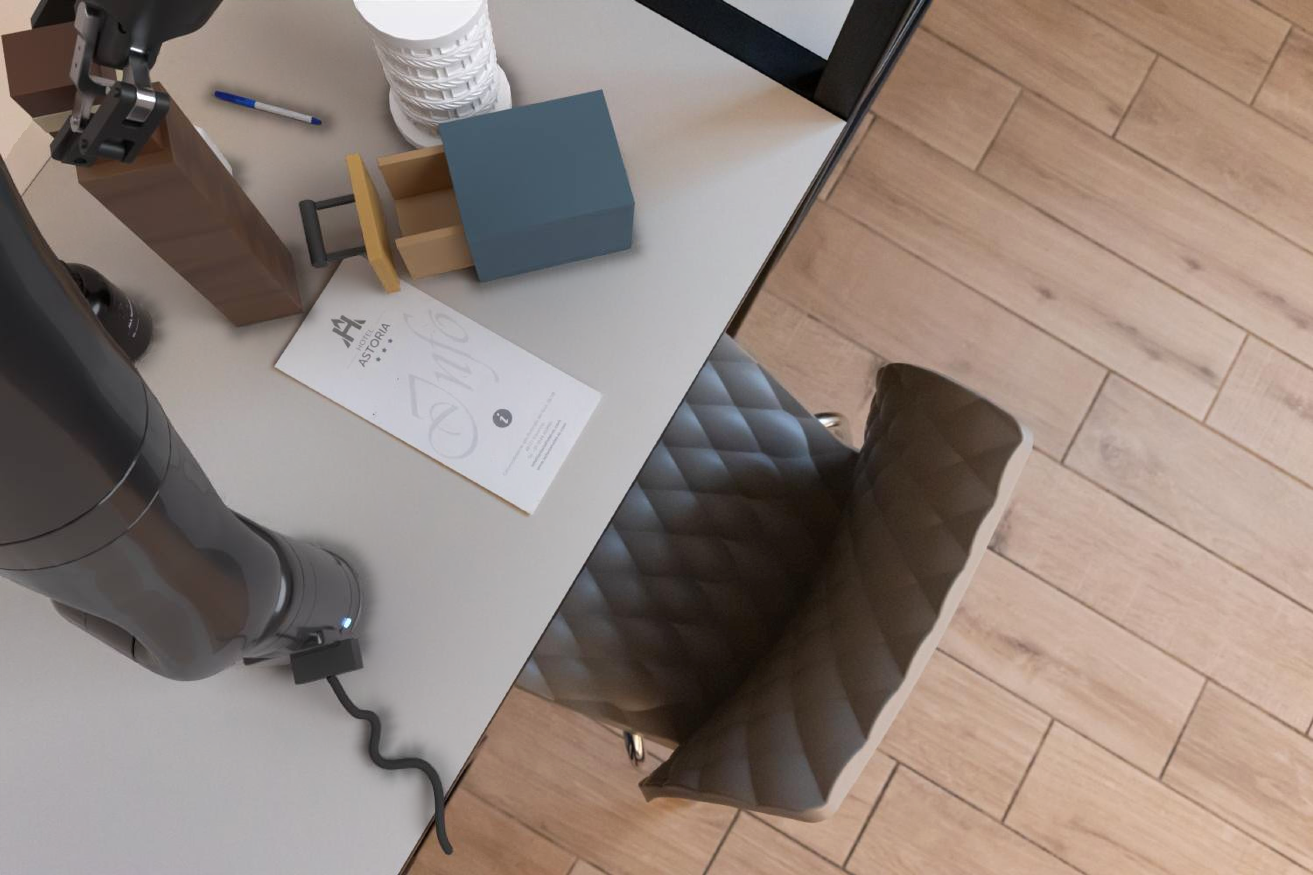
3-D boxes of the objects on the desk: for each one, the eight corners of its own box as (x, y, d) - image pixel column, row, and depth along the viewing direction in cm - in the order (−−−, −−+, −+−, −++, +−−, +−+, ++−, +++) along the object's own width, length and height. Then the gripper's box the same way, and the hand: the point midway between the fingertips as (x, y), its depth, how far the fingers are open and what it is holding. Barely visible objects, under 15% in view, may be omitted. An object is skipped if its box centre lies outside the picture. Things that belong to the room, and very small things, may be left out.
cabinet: (480, 283, 91) (466, 240, 82) (454, 177, 94) (437, 123, 84) (631, 248, 93) (634, 202, 84) (602, 144, 95) (602, 89, 86)
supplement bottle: (171, 333, 89) (106, 284, 77) (111, 386, 87) (36, 344, 76) (120, 283, 90) (48, 227, 78) (60, 335, 88) (-22, 285, 77)
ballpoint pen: (214, 100, 94) (210, 95, 93) (217, 92, 94) (213, 87, 93) (320, 127, 94) (317, 121, 93) (323, 119, 94) (320, 113, 93)
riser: (303, 312, 90) (174, 162, 63) (237, 328, 89) (77, 183, 62) (291, 253, 91) (159, 80, 64) (226, 268, 90) (64, 99, 63)
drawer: (331, 307, 89) (306, 274, 82) (310, 209, 91) (284, 168, 84) (532, 261, 91) (526, 225, 84) (507, 166, 93) (499, 123, 86)
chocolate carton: (164, 151, 63) (103, 79, 55) (83, 168, 62) (8, 98, 54) (154, 95, 64) (92, 16, 56) (73, 111, 63) (-1, 34, 55)
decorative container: (509, 160, 94) (488, 47, 77) (387, 156, 94) (338, 41, 76) (514, 53, 97) (495, -80, 79) (395, 48, 96) (349, -87, 79)
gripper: (69, -239, 47) (-31, -29, 57) (114, 18, 44) (1, 191, 54) (223, -168, 53) (108, 12, 63) (272, 64, 50) (143, 213, 60)
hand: (59, 95), depth 58 cm, fingers open, 8 cm apart
